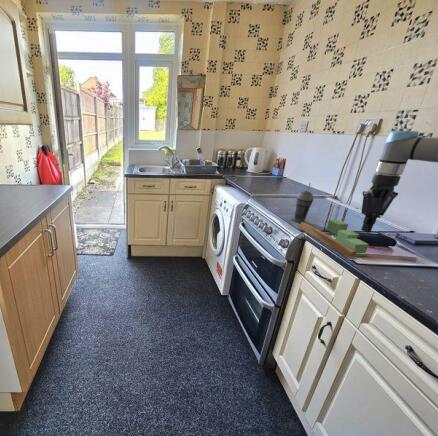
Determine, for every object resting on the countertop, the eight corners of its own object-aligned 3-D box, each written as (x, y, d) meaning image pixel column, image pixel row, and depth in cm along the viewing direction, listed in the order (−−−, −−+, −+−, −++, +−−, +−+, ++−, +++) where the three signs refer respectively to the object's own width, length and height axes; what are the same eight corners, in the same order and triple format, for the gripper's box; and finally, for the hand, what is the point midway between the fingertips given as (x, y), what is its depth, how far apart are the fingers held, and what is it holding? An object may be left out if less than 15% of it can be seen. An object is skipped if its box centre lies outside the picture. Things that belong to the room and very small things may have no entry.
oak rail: (303, 228, 116) (305, 222, 115) (354, 258, 90) (357, 251, 89) (299, 228, 116) (301, 222, 115) (349, 258, 90) (352, 251, 89)
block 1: (336, 229, 115) (339, 219, 113) (344, 234, 111) (348, 224, 109) (326, 230, 115) (329, 220, 113) (334, 234, 110) (337, 224, 108)
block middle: (345, 240, 105) (349, 229, 103) (355, 245, 100) (360, 234, 98) (334, 240, 104) (338, 229, 102) (344, 246, 99) (348, 235, 98)
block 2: (353, 249, 97) (357, 238, 95) (364, 256, 92) (368, 244, 90) (341, 250, 96) (345, 238, 94) (351, 256, 92) (356, 244, 90)
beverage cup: (303, 219, 128) (314, 181, 120) (309, 224, 121) (321, 184, 114) (288, 217, 129) (298, 180, 122) (293, 222, 122) (304, 183, 115)
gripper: (393, 172, 96) (371, 227, 105) (362, 172, 95) (343, 227, 104) (414, 176, 89) (389, 234, 98) (381, 176, 88) (359, 235, 97)
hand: (365, 231), depth 101 cm, fingers closed
